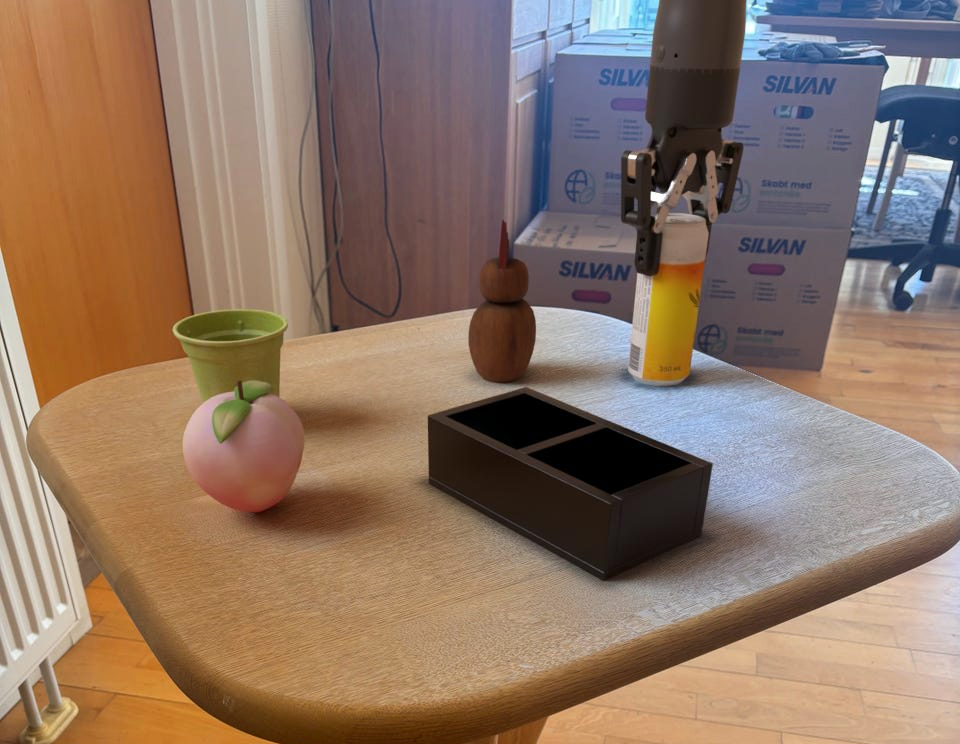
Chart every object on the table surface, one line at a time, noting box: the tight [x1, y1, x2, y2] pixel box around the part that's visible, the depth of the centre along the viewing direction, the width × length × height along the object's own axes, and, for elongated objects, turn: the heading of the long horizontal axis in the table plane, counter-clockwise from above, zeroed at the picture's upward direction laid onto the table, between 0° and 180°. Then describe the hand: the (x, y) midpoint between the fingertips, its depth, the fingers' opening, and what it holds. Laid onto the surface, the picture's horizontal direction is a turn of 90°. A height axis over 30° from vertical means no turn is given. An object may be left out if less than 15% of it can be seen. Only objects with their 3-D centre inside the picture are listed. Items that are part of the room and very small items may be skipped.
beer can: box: [627, 212, 709, 387], centre depth 93 cm, size 6×6×15 cm
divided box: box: [427, 386, 714, 582], centre depth 71 cm, size 10×19×6 cm, turn 40°
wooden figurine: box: [467, 219, 537, 383], centre depth 93 cm, size 7×6×15 cm
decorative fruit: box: [182, 380, 306, 513], centre depth 69 cm, size 9×8×10 cm
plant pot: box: [172, 308, 289, 404], centre depth 84 cm, size 9×9×9 cm
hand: (670, 268), depth 91 cm, fingers closed on beer can, 6 cm apart
